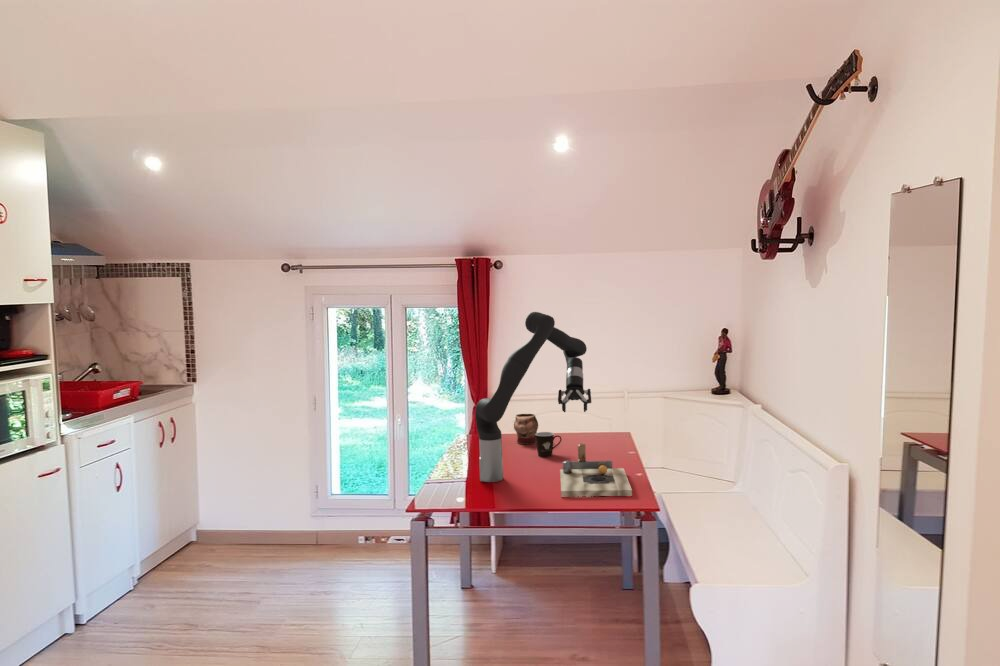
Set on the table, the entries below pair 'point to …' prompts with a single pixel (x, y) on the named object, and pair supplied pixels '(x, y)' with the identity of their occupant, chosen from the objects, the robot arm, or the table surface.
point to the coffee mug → (545, 443)
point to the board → (595, 483)
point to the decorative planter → (526, 428)
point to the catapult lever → (583, 462)
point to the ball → (602, 469)
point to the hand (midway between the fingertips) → (574, 411)
